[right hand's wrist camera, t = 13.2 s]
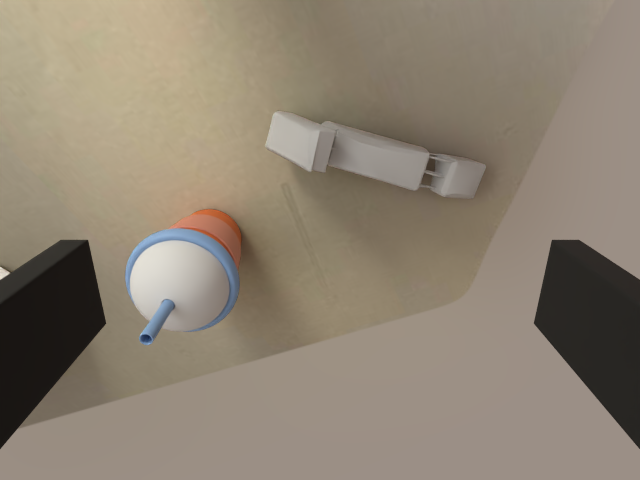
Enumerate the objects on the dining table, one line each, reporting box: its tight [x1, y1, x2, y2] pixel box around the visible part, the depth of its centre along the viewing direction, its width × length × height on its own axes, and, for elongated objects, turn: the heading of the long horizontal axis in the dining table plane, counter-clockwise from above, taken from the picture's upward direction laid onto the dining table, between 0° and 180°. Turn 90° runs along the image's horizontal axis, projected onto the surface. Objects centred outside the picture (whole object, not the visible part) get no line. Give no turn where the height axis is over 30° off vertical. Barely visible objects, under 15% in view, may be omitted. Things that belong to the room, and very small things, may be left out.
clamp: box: [266, 111, 486, 199], centre depth 38 cm, size 20×4×7 cm, turn 76°
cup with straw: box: [125, 209, 241, 345], centre depth 36 cm, size 9×9×18 cm
